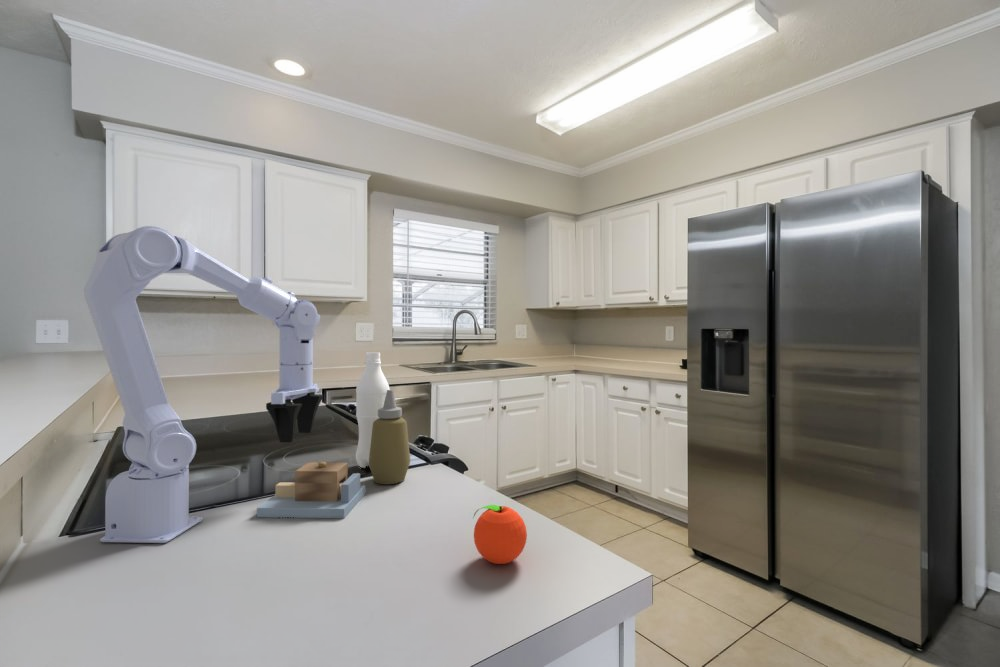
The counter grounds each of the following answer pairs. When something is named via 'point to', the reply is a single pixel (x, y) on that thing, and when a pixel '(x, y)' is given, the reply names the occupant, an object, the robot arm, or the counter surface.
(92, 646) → the counter surface
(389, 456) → the squeeze bottle
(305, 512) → the cleat board
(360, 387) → the water bottle
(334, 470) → the cabinet block
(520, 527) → the clementine
